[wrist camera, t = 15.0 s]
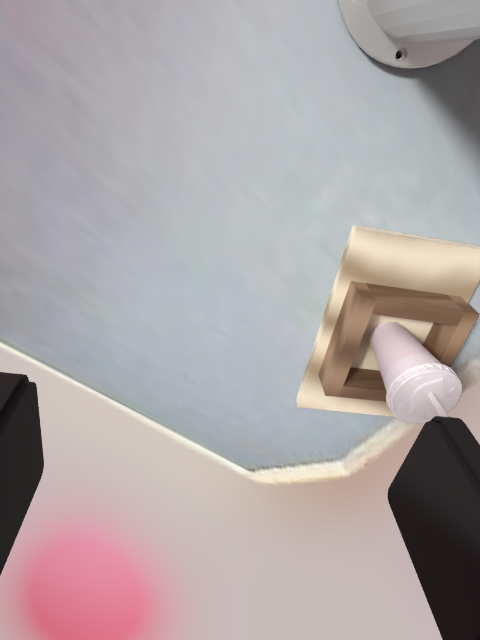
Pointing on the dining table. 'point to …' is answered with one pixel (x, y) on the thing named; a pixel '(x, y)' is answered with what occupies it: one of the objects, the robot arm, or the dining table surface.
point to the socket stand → (388, 313)
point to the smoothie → (413, 376)
